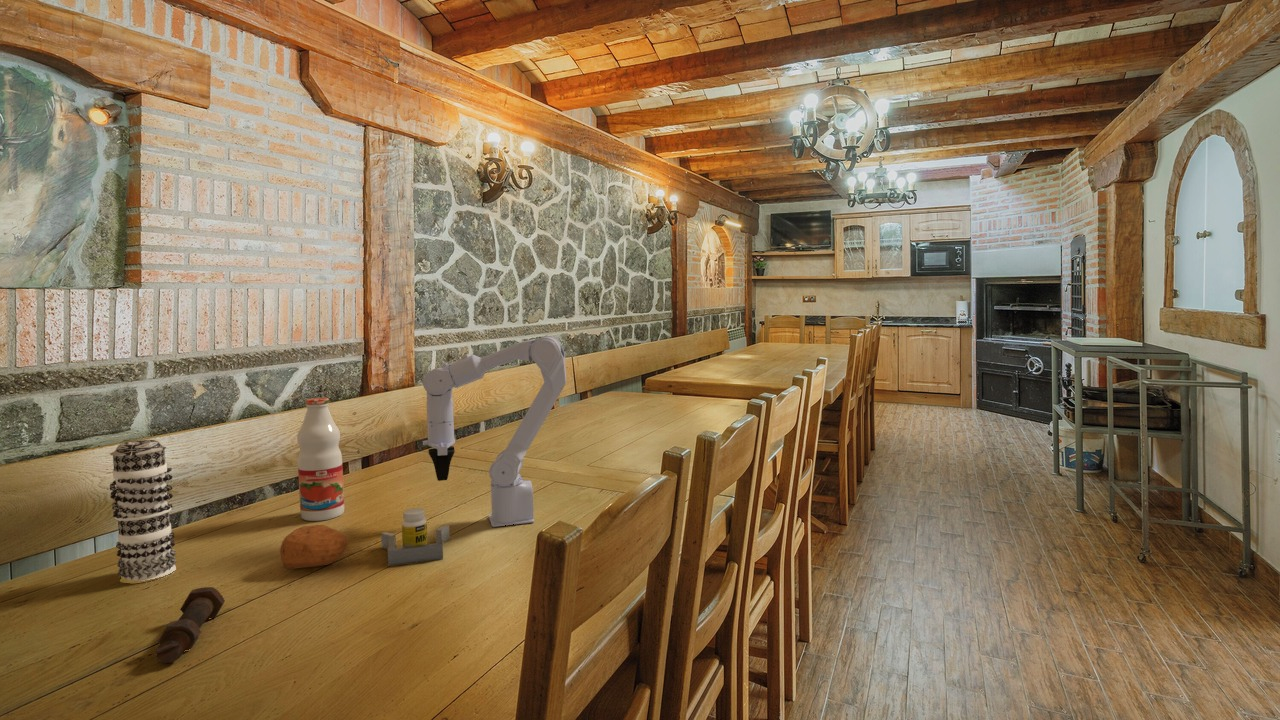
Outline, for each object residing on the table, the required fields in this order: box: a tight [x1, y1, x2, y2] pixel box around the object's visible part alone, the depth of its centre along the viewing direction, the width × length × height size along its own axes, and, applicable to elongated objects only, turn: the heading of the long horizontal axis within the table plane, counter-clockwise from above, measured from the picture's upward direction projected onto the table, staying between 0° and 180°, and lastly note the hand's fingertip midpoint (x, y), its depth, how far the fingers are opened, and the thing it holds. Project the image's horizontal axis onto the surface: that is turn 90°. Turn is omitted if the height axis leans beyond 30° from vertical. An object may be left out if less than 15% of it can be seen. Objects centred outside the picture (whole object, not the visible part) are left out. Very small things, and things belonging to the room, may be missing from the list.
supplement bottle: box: [401, 507, 428, 547], centre depth 128 cm, size 5×5×8 cm
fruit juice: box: [296, 397, 345, 522], centre depth 150 cm, size 9×9×28 cm
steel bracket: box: [380, 524, 450, 567], centre depth 128 cm, size 13×11×3 cm
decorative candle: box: [109, 439, 177, 581], centre depth 117 cm, size 9×9×25 cm
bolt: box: [155, 586, 225, 664], centre depth 95 cm, size 6×5×15 cm
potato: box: [279, 524, 349, 569], centre depth 122 cm, size 9×11×8 cm
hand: (442, 479), depth 145 cm, fingers closed
